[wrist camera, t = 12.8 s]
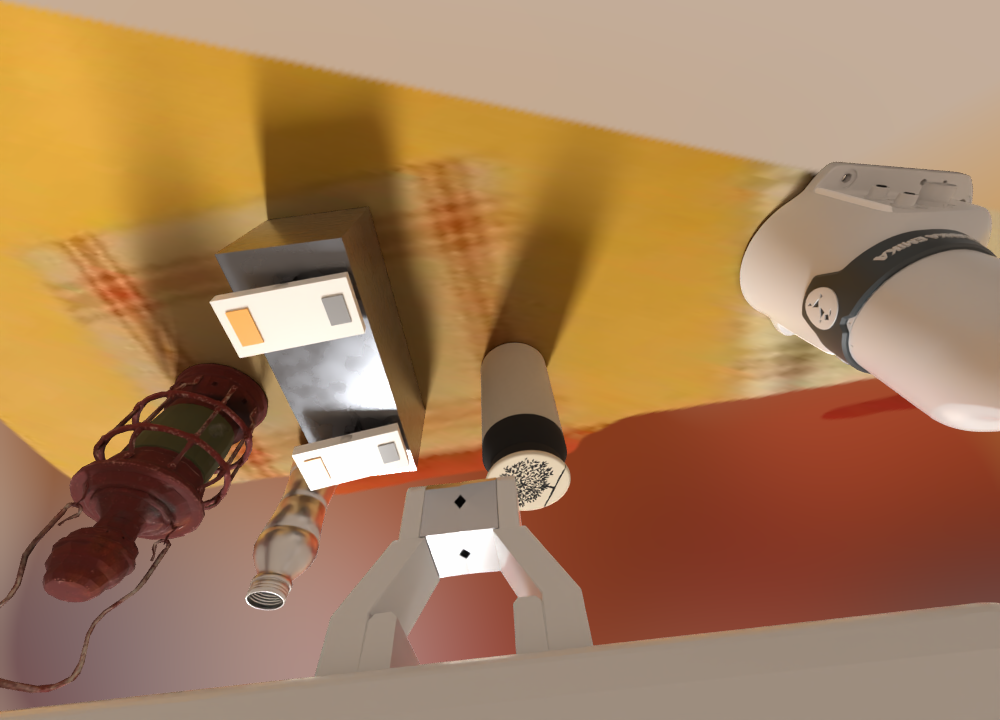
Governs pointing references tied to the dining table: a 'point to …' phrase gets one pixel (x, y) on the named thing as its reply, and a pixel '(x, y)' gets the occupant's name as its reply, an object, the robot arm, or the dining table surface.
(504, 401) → the travel mug
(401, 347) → the switch box
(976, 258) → the robot arm
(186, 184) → the dining table surface
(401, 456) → the block
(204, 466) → the lantern
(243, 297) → the rocker on
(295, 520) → the silver tall rounded piece
